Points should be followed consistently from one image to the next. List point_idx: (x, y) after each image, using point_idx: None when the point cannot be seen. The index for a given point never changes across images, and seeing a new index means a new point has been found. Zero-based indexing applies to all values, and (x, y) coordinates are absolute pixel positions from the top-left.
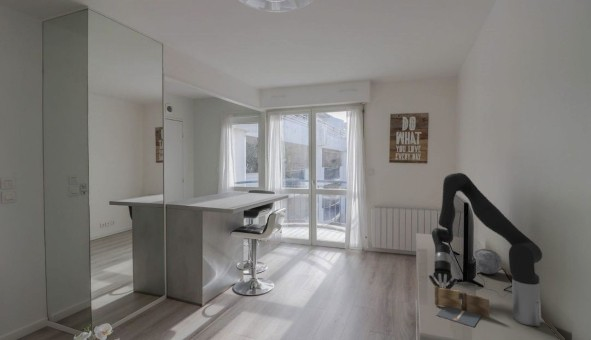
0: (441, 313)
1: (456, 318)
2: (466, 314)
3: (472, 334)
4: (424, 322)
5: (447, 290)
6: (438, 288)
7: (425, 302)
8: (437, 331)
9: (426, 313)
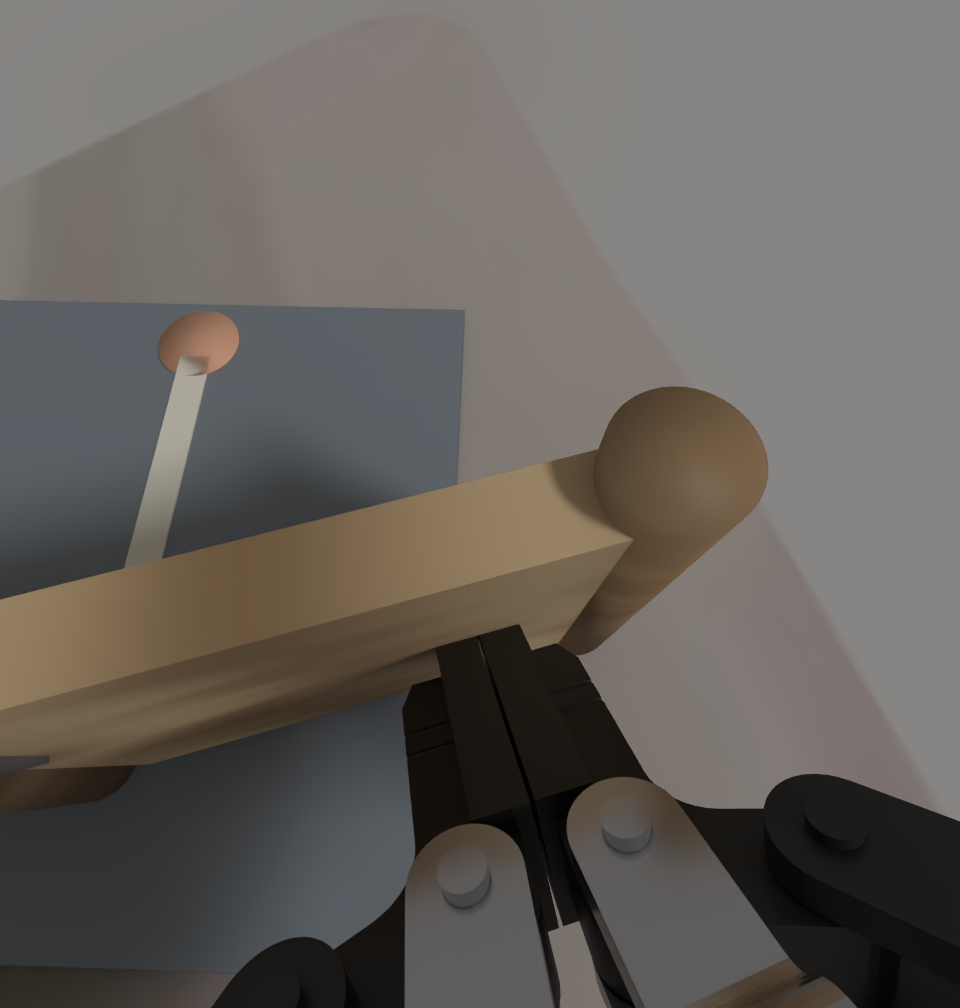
0: (416, 384)
1: (204, 366)
2: (66, 577)
3: (28, 174)
4: (519, 124)
5: (275, 543)
6: (587, 466)
7: (784, 632)
8: (354, 61)
9: (590, 300)
